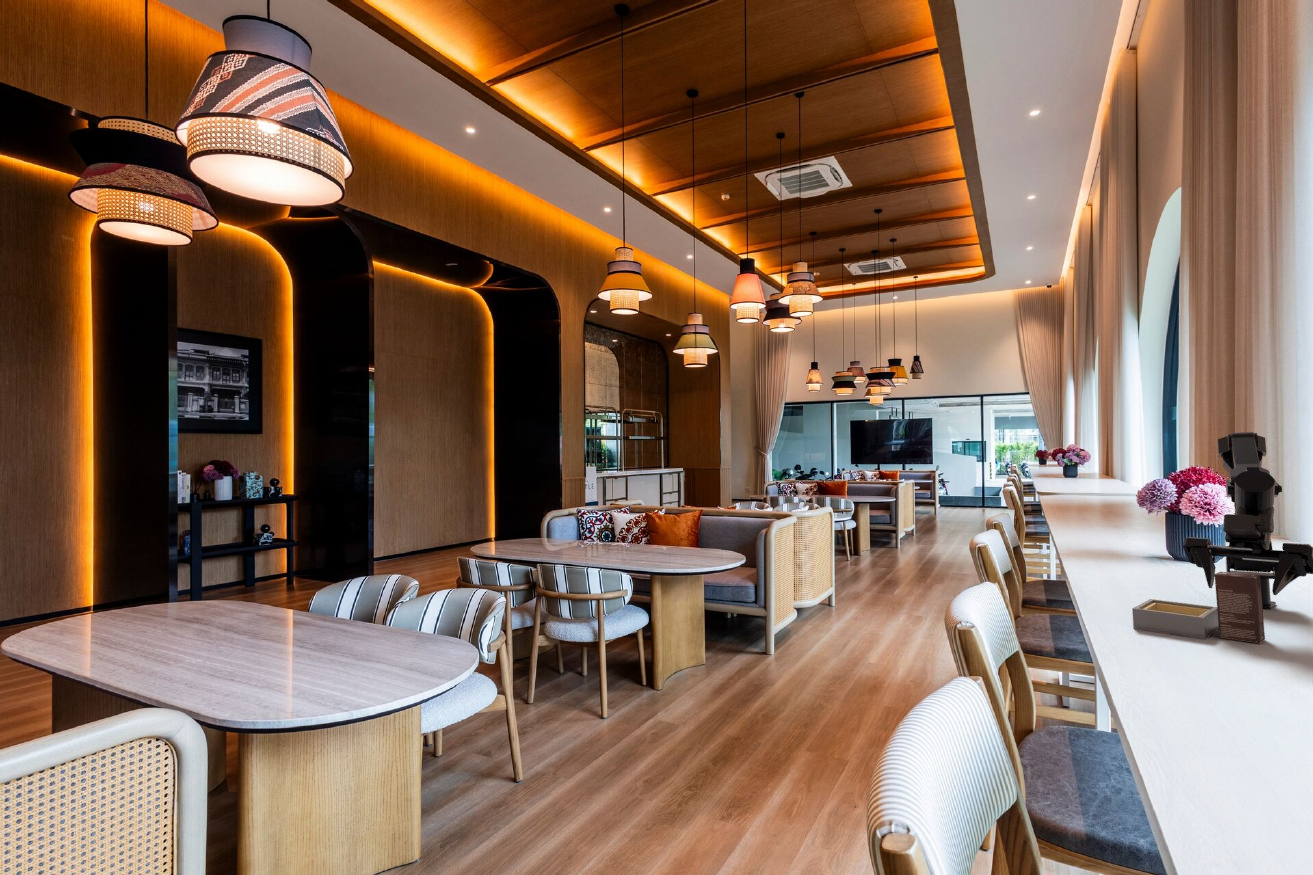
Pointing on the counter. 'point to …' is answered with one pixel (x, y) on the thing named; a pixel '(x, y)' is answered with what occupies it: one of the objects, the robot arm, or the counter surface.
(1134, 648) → the counter surface
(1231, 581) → the box
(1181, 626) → the tray
